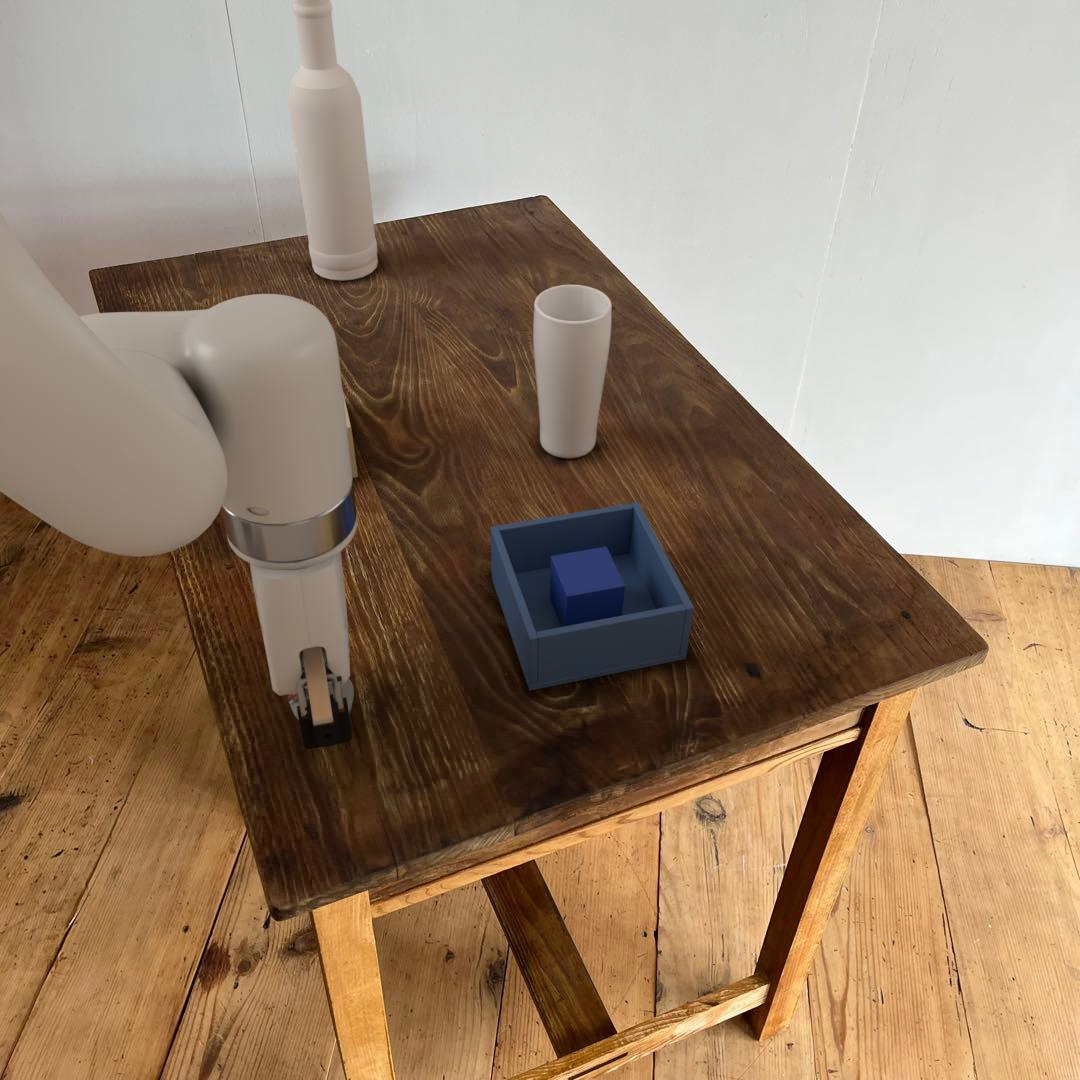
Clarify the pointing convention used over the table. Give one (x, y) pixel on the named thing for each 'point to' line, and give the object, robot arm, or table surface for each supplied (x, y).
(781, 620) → the table surface
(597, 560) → the blue block
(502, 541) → the blue bin
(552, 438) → the drinking glass
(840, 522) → the table surface
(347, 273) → the bottle
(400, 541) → the table surface
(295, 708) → the figurine
